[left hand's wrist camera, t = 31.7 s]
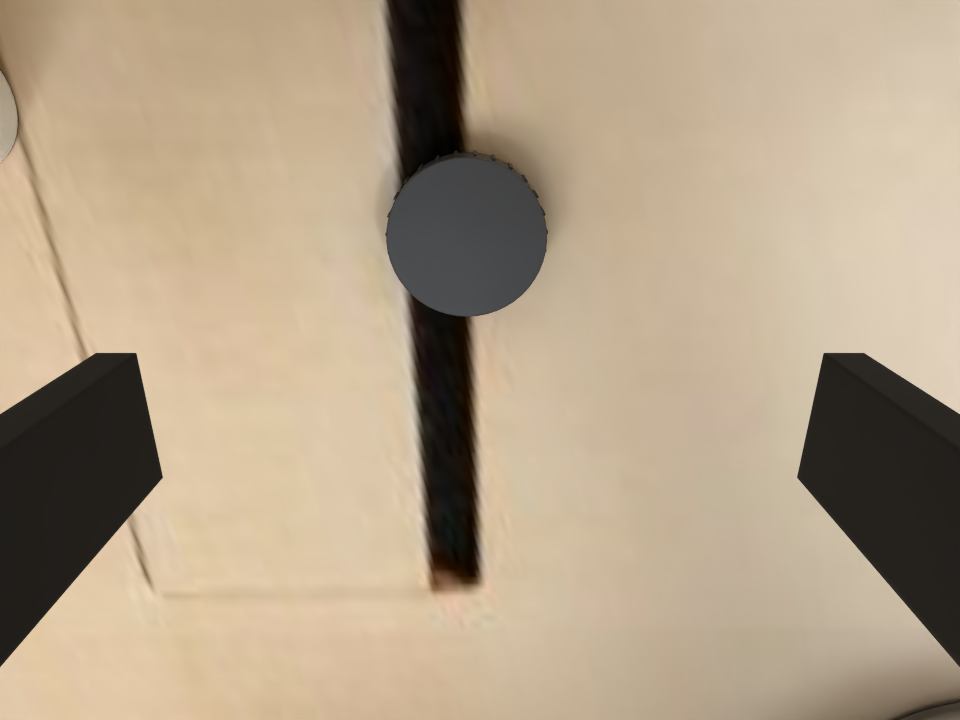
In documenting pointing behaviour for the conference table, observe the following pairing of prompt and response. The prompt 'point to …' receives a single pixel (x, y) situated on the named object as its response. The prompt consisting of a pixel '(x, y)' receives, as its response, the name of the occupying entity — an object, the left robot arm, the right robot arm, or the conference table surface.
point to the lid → (466, 234)
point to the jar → (7, 118)
